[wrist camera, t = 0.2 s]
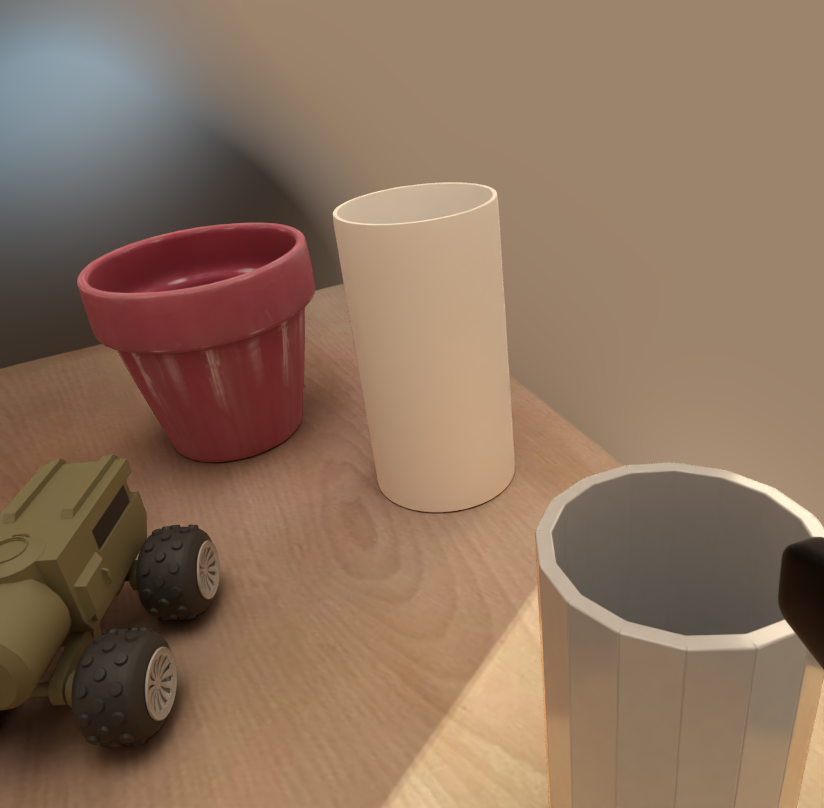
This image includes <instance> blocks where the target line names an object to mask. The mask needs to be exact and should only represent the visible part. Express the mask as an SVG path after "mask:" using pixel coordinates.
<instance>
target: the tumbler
mask: <svg viewBox="0 0 824 808" xmlns="http://www.w3.org/2000/svg"><path fill="white" fill-rule="evenodd" d="M811 537H824V527H823V526H822V524H821V523H820V521H819V520H818V518H816V517H815V515H813V514H812V513H810V512H809V511H807V510H806V509H805V508H803V507H802V506H800V505H799V504H797V503H796V502H795V501H793V500H792V499H790V498H789V497H787V496H786V495H785V494H783V493H782V492H780V491H779V490H777V489H775V488H774V487H771V486H768V485H765V484H763V483H760V482H757V481H755V480H752V479H749V478H746V477H744V476H741V475H738V474H736V473H733V472H730V471H725V470H723V469H716V468H709V467H703V466H696V465H689V464H682V463H673V462H671V463H656V464H655V463H654V464H638V465H626V466H621V467H618V468H614V469H611V470H608V471H604V472H601V473H598V474H594V475H591V476H588V477H585V478H583V479H581V480H579V481H578V482H576V483H575V484H574V485H572V486H571V487H569V488H568V489H567V490H565V491H564V492H562V493H561V494H559V495H558V496H557V497H555V498H554V499H552V501H551V502H550V504H549V506H548V507H547V509H546V511H545V513H544V515H543V517H542V519H541V521H540V523H539V525H538V526H537V528H536V532H535V543H536V563H537V583H538V603H539V623H540V643H541V663H542V683H543V703H544V723H545V743H546V763H547V783H548V803H549V808H797V803H798V799H799V794H800V789H801V784H802V779H803V775H804V770H805V765H806V760H807V755H808V751H809V746H810V741H811V736H812V731H813V727H814V722H815V717H816V712H817V707H818V703H819V698H820V693H821V688H822V683H823V679H824V670H823V668H822V667H821V666H820V664H819V663H818V662H817V661H816V659H815V658H814V657H813V655H812V654H811V653H810V652H809V650H808V649H807V648H806V646H805V645H804V644H803V643H802V641H801V640H800V639H799V638H798V636H797V635H796V634H795V632H794V631H793V630H792V629H791V627H790V626H789V625H788V623H787V622H786V620H785V619H784V617H783V615H782V613H781V611H780V608H779V604H778V591H779V580H780V569H781V559H782V553H783V551H784V550H785V548H786V547H787V546H789V545H790V544H793V543H796V542H799V541H802V540H805V539H808V538H811Z"/></svg>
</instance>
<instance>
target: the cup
mask: <svg viewBox="0 0 824 808" xmlns="http://www.w3.org/2000/svg"><path fill="white" fill-rule="evenodd" d="M333 222H334V228H335V234H336V240H337V245H338V251H339V258H340V263H341V269H342V275H343V281H344V287H345V293H346V299H347V305H348V311H349V317H350V322H351V328H352V334H353V340H354V346H355V352H356V358H357V364H358V369H359V375H360V381H361V387H362V393H363V399H364V405H365V410H366V416H367V422H368V428H369V434H370V440H371V446H372V452H373V457H374V463H375V469H376V475H377V481H378V485H379V488H380V490H381V491H382V493H383V494H384V495H385V496H386V497H387V498H388V499H390V500H391V501H392V502H394V503H396V504H398V505H400V506H403V507H405V508H408V509H412V510H417V511H424V512H451V511H458V510H463V509H467V508H471V507H474V506H477V505H480V504H482V503H484V502H486V501H488V500H490V499H492V498H494V497H495V496H497V495H498V494H500V493H501V492H502V491H503V490H504V489H505V488H506V487H507V486H508V485H509V483H510V482H511V480H512V478H513V476H514V472H515V460H514V444H513V428H512V412H511V396H510V380H509V365H508V349H507V333H506V317H505V301H504V285H503V269H502V253H501V239H500V222H499V207H498V198H497V193H496V191H495V190H494V189H493V188H490V187H488V186H484V185H479V184H472V183H430V184H419V185H411V186H404V187H398V188H392V189H387V190H382V191H378V192H374V193H370V194H366V195H363V196H360V197H357V198H354V199H352V200H349V201H347V202H345V203H343V204H341V205H340V206H338V207H337V208H336V209H335V210H334V212H333Z"/></svg>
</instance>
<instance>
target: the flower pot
mask: <svg viewBox="0 0 824 808" xmlns="http://www.w3.org/2000/svg"><path fill="white" fill-rule="evenodd" d="M77 285H78V288H79V291H80V295H81V298H82V301H83V304H84V307H85V310H86V313H87V316H88V319H89V322H90V325H91V327H92V330H93V333H94V335H95V337H96V338H97V339H98V340H99V341H100V342H101V343H102V344H104V345H105V346H107V347H110V348H112V349H115V350H117V351H118V353H119V355H120V357H121V358H122V360H123V362H124V364H125V366H126V367H127V369H128V371H129V372H130V374H131V376H132V378H133V379H134V381H135V383H136V384H137V386H138V388H139V389H140V391H141V393H142V394H143V396H144V398H145V399H146V401H147V403H148V404H149V406H150V408H151V409H152V411H153V413H154V414H155V416H156V417H157V419H158V421H159V422H160V424H161V425H162V427H163V429H164V430H165V432H166V434H167V435H168V437H169V439H170V440H171V442H172V444H173V445H174V447H175V449H176V450H177V451H178V452H179V453H180V454H181V455H183V456H185V457H187V458H189V459H192V460H196V461H201V462H226V461H233V460H239V459H243V458H247V457H251V456H254V455H257V454H260V453H262V452H265V451H267V450H269V449H271V448H273V447H275V446H277V445H278V444H280V443H282V442H283V441H285V440H286V439H288V438H289V437H290V436H291V435H292V434H293V433H294V432H295V431H296V430H297V428H298V427H299V425H300V423H301V420H302V416H303V387H304V352H305V306H306V305H307V304H308V303H309V302H310V301H311V299H312V297H313V295H314V292H315V284H314V278H313V272H312V267H311V262H310V257H309V253H308V248H307V244H306V240H305V237H304V235H303V234H302V233H301V232H300V231H299V230H297V229H295V228H292V227H290V226H286V225H280V224H273V223H237V224H223V225H214V226H206V227H199V228H193V229H187V230H181V231H176V232H172V233H168V234H163V235H160V236H155V237H152V238H149V239H145V240H142V241H138V242H135V243H133V244H129V245H126V246H124V247H121V248H119V249H117V250H114V251H112V252H110V253H108V254H105V255H104V256H102V257H100V258H98V259H96V260H95V261H93V262H92V263H90V264H89V265H88V266H86V267H85V268H84V269H83V270H82V272H81V273H80V275H79V277H78V279H77Z"/></svg>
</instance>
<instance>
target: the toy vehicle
mask: <svg viewBox="0 0 824 808" xmlns="http://www.w3.org/2000/svg"><path fill="white" fill-rule="evenodd" d="M130 473H131V469H130V466H129V463H128V460H127V458H126V459H118V458H117V456H115V455H104V456H102V457H101V458H100V460H99V461H92V462H80V463H68V464H66V461H64V460H61V459H57V460H50V461H49V463H48V464H47V465H44V466H41V467H40V468H39V470H38V471H37V472H36V473H35V474H34V475H33V476H32V478H31V479H30V480H29V481H28V482H27V483H26V484H25V486H24V487H23V488H22V489H21V490H20V491H19V492H18V494H17V495H16V496H15V497H14V498H13V499H12V501H11V502H10V503H9V504H8V505H7V506H6V507H5V509H4V510H3V511H2V512H1V513H0V711H1V710H9V709H11V708H17V707H18V706H19V705H22V704H23V703H24V702H25V701H26V700H27V699H28V698H32V697H49V701H50V702H51V703H52V705H69V706H70V707H72V711H73V717H74V720H75V723H76V725H77V728H78V729H79V731H80V732H81V733H82V735H83V736H85V737H86V738H87V739H86V741H87V742H88V743H90V744H94V745H97V744H98V743H100V746H101V747H114V748H118V747H122V745H123V743H124V744H131V743H133V746H136V745H141V744H144V743H146V739H148V738H150V737H151V736H152V735H154V734H155V733H156V732H157V731H158V730H159V729H160V728H161V726H162V725H163V723H164V722H165V720H166V717H167V715H168V713H169V712H170V710H171V708H172V705H173V703H174V698H175V694H176V687H177V669H176V663H175V659H174V656H173V654H172V652H171V650H170V648H169V646H168V644H167V642H166V640H165V639H164V638H163V637H161V634H160V633H157V632H151V629H150V628H149V627H139V628H130V629H129V631H128V628H120V629H118V628H116V629H110V630H107V633H106V634H105V635H103V634H102V631H101V625H100V622H101V620H102V618H103V616H104V615H105V613H106V611H107V609H108V607H109V606H110V604H111V602H112V600H113V598H114V597H116V596H117V595H118V594H119V592H120V590H121V589H122V587H123V585H124V582H125V581H129V582H130V586H131V587H132V589H133V590H138V594H139V597H140V600H141V603H142V605H143V606H144V608H145V609H146V610H147V611H148V613H149V614H150V615H152V616H156V617H158V620H162V621H168V619H169V620H176V619H177V620H183V619H193V618H196V615H199V614H202V613H203V612H204V611H205V609H206V608H207V607H208V606H209V605H210V603H211V601H212V599H213V596H214V595H215V593H216V591H217V588H218V584H219V576H220V564H219V557H218V552H217V549H216V547H215V545H214V544H213V543H212V541H211V539H210V537H209V536H208V534H207V533H205V532H204V531H203V530H201V529H198V526H197V525H189V526H188V527H180V525H172V526H167V527H163V528H162V530H161V529H157V530H154V531H153V532H152V535H150V536H149V537H148V538H147V518H146V511H145V508H144V505H143V502H142V499H141V497H140V494H139V492H130V491H129V488H128V485H127V483H126V479H127V478H128V476H129V475H130ZM139 552H140V553H139ZM138 553H139V557H138V560H135V559H136V557H137V555H138ZM60 646H66V647H65V649H64V651H63V654H62V656H61V658H60V660H59V662H58V664H57V667H56V669H55V671H54V673H53V675H52V677H51V680H50V682H46V683H39V681H40V680H41V678H42V676H43V675H44V673H45V671H46V670H47V668H48V666H49V665H50V663H51V661H52V660H53V658H54V656H55V655H56V653H57V651H58V650H59V648H60Z"/></svg>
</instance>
